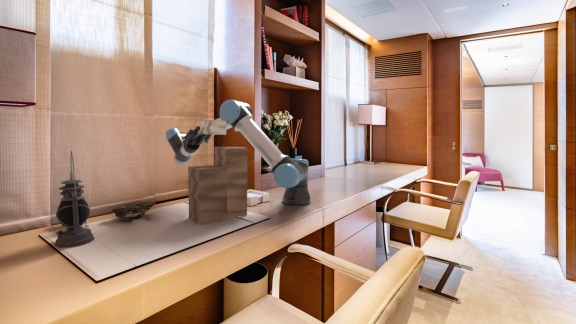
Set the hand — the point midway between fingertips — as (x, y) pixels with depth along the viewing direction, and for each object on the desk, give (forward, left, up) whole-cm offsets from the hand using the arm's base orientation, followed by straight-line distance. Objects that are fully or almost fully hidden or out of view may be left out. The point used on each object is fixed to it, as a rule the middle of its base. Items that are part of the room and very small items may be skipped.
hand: (207, 124), depth 139 cm
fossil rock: (+31, +8, -40) cm, 51 cm away
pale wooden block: (0, +1, -4) cm, 5 cm away
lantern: (+46, +31, -40) cm, 68 cm away
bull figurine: (+49, +13, -40) cm, 65 cm away
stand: (-3, +16, -40) cm, 43 cm away
